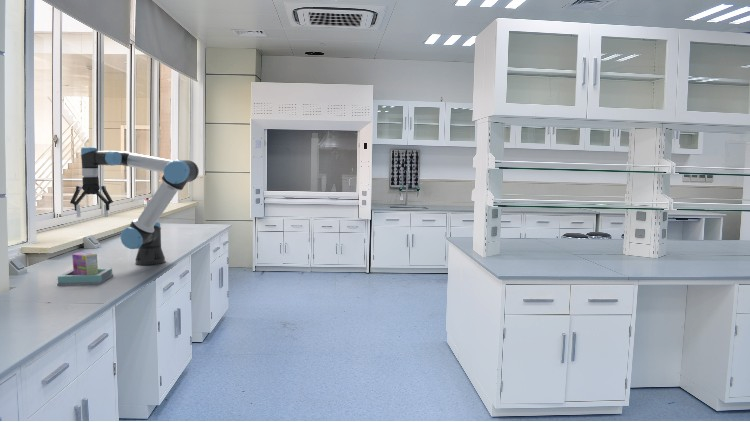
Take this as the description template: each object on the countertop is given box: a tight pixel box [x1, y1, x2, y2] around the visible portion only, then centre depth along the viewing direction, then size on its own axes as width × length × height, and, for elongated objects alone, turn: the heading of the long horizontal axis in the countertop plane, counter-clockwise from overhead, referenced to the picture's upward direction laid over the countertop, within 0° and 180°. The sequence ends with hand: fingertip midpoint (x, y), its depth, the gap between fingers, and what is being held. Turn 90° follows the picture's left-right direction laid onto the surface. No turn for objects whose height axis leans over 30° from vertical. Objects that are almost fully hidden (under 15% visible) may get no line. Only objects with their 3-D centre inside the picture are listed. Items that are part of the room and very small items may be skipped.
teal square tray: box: [56, 267, 114, 287], centre depth 248 cm, size 18×18×4 cm
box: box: [71, 251, 99, 275], centre depth 247 cm, size 10×6×12 cm, turn 62°
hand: (92, 216), depth 277 cm, fingers open, 13 cm apart
